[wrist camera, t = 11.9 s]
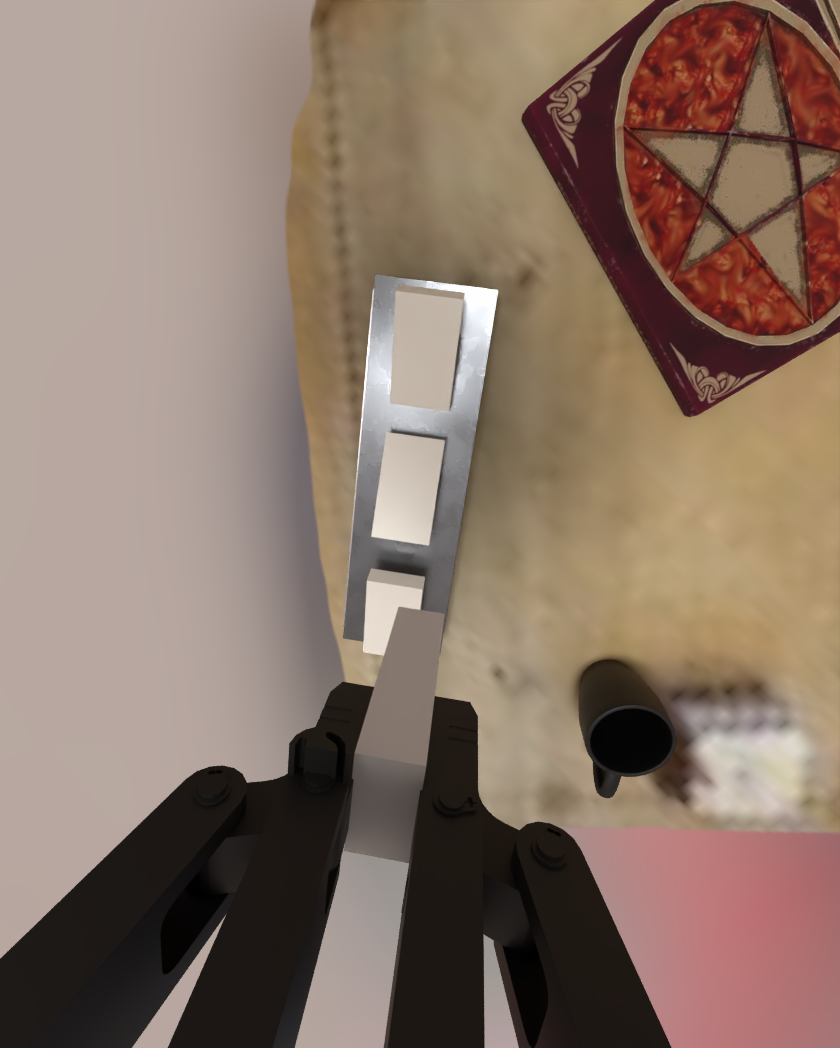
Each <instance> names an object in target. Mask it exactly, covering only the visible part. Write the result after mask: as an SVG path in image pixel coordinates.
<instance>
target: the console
mask: <svg viewBox="0 0 840 1048" xmlns="http://www.w3.org/2000/svg"><path fill="white" fill-rule="evenodd" d="M399 285H408V286H416V287H423V288H431V289H439V290H447V291H455V292H463V293H465V297H464V305H463V313H462V320H461V328H460V334H461V342H460V349H459V356H458V362H457V368H455V374H454V382H453V389H452V397H451V404H450V409H449V412H446V411H439V410H432V409H425V408H417V407H410V406H403V405H396V404H390V391H391V372H392V348H393V333H394V313H395V294H396V290H397V288H398V286H399ZM497 295H498V290H493V289H485V288H477V287H469V286H462V285H454V284H446V283H438V282H430V281H422V280H414V279H406V278H398V277H390V276H383V275H376V276H375V287H374V288H373V294H372V305H371V316H370V328H369V339H368V350H367V362H366V373H365V384H364V396H363V407H362V418H361V429H360V441H359V452H358V463H357V475H356V486H355V497H354V508H353V520H352V531H351V542H350V554H349V565H348V576H347V587H346V599H345V610H344V621H343V627H344V634H343V638H345V639H351V640H357V641H363V642H364V625H365V606H366V588H367V579H368V576H369V573H370V570H371V568H372V569H378V570H385V571H391V572H397V573H404V574H410V575H416V576H423V577H425V582H424V589H423V597H422V600H424V601H423V609H422V610H424V611H430V612H436V613H442V614H444V622H443V631H442V639H443V633H444V627H445V620H446V614H447V608H448V602H449V595H450V589H451V583H452V576H453V570H454V564H455V558H456V551H457V545H458V539H459V533H460V526H461V520H462V514H463V508H464V501H465V495H466V489H467V483H468V476H469V470H470V464H471V458H472V451H473V445H474V439H475V433H476V426H477V420H478V414H479V408H480V401H481V395H482V389H483V383H484V376H485V370H486V364H487V358H488V351H489V345H490V339H491V333H492V326H493V320H494V314H495V307H496V301H497ZM386 432H390V433H397V434H404V435H411V436H418V437H425V438H432V439H439V440H445V446H444V453H443V459H442V466H441V472H440V479H441V482H440V489H439V496H438V502H437V507H436V508H435V512H434V519H433V526H432V532H431V539H430V544H429V546H428V545H422V544H415V543H409V542H402V541H396V540H389V539H383V538H376V537H371V535H372V528H373V521H374V514H375V507H376V500H377V493H378V484H379V478H380V472H381V465H382V458H383V451H384V444H385V437H386ZM442 639H441V645H442ZM440 652H441V647H440Z"/></svg>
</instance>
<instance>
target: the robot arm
mask: <svg viewBox="0 0 840 1048" xmlns="http://www.w3.org/2000/svg"><path fill="white" fill-rule="evenodd" d="M443 622H444V614H442V613H436V612H430V611H424V610H418V609H412V608H405V607H398V610H397V614H396V617H395V620H394V624H393V627H392V630H391V634H390V637H389V640H388V644H387V647H386V650H385V654H384V657H383V660H382V663H381V667H380V670H379V673H378V677H377V680H376V683H375V687H370V686H364V685H358V684H353V683H347V682H342V683H341V684H339V685H338V686H337V687H336V688H335V689H333V690H332V691H331V692H330V694H329V696H328V699H327V701H326V704H325V707H324V708H323V710H322V713H321V715H320V719H319V720H318V722H317V725H316V727H314V728H310V729H306V730H304V731H302V732H301V733H299V734H297V735H296V736H295V737H294V738H293V740H292V741H291V742H290V744H289V761H288V774H286V775H285V776H282V777H280V778H277V779H274V780H269V781H262V782H251V783H247V782H246V780H245V778H244V776H243V774H242V773H240V772H239V771H237V770H236V769H235V768H231V767H227V766H213V767H208V768H205V769H202V770H200V771H197V772H195V773H194V774H193V775H191V776H190V777H188V778H187V779H186V780H185V781H184V782H183V783H182V784H181V785H180V786H179V787H177V788H176V789H175V790H174V791H173V792H172V793H171V794H170V795H169V796H168V797H167V798H166V799H165V800H164V801H163V802H162V803H161V804H160V805H159V806H158V807H157V808H156V809H155V810H154V811H153V812H152V813H151V814H150V815H149V816H148V817H147V818H145V819H144V820H143V821H142V822H141V823H140V824H139V825H138V826H137V827H136V828H135V829H134V830H133V831H132V832H131V833H130V834H129V835H128V836H127V837H126V838H125V839H124V840H123V841H122V842H121V843H120V844H119V845H117V846H116V847H115V848H114V849H113V850H112V851H111V852H110V853H109V854H108V855H107V856H106V857H105V858H104V859H103V860H102V861H101V862H100V863H99V864H98V865H97V866H96V867H95V868H94V869H93V870H92V871H91V872H90V873H89V874H87V876H85V877H84V878H83V879H82V880H81V881H80V882H79V883H78V884H77V885H76V886H75V887H74V888H73V889H72V890H71V891H70V892H69V893H68V894H67V895H66V896H65V897H64V898H63V899H62V900H61V901H60V902H59V903H57V904H56V905H55V906H54V907H53V908H52V909H51V910H50V911H49V912H48V913H47V914H46V915H45V916H44V917H43V918H42V919H41V920H40V921H39V922H38V923H37V924H36V925H35V926H34V927H33V928H32V929H31V930H30V931H29V932H28V933H26V934H25V935H24V936H23V937H22V938H21V939H20V940H19V941H18V942H17V943H16V944H15V945H14V946H13V947H12V948H11V949H10V950H9V951H8V952H7V953H6V954H5V955H4V956H3V957H2V958H1V959H0V1048H132V1047H133V1045H134V1044H135V1043H136V1041H137V1039H138V1038H139V1037H140V1035H141V1034H142V1033H143V1031H144V1030H145V1028H146V1027H147V1026H148V1024H149V1023H150V1021H151V1020H152V1018H153V1017H154V1016H155V1014H156V1013H157V1011H158V1010H159V1009H160V1007H161V1005H162V1004H163V1003H164V1001H165V1000H166V999H167V997H168V996H169V994H170V993H171V991H172V990H173V989H174V987H175V986H176V984H177V983H178V982H179V980H180V979H181V977H182V976H183V975H184V973H185V972H186V970H187V969H188V967H189V966H190V965H191V963H192V962H193V960H194V959H195V957H196V956H197V955H198V953H199V952H200V950H201V949H202V947H203V946H204V945H205V943H206V942H207V941H208V939H209V938H210V936H211V935H212V933H213V932H214V931H215V929H216V928H217V926H218V925H219V924H220V922H221V921H222V919H223V918H224V916H225V915H226V917H225V919H224V921H223V923H222V925H221V928H220V930H219V932H218V935H217V937H216V939H215V941H214V944H213V946H212V948H211V951H210V953H209V955H208V957H207V960H206V962H205V964H204V967H203V969H202V971H201V973H200V976H199V978H198V980H197V982H196V985H195V987H194V989H193V991H192V994H191V996H190V998H189V1001H188V1003H187V1005H186V1007H185V1010H184V1012H183V1014H182V1017H181V1019H180V1021H179V1023H178V1026H177V1028H176V1030H175V1032H174V1035H173V1037H172V1039H171V1042H170V1044H169V1046H168V1048H295V1044H296V1040H297V1036H298V1032H299V1029H300V1025H301V1021H302V1017H303V1013H304V1009H305V1005H306V1001H307V998H308V994H309V990H310V986H311V982H312V978H313V974H314V970H315V966H316V963H317V959H318V955H319V951H320V947H321V943H322V939H323V935H324V932H325V928H326V924H327V920H328V916H329V912H330V908H331V904H332V900H333V897H334V893H335V889H336V885H337V881H338V877H339V870H340V861H341V855H342V852H343V848H344V851H348V852H353V853H358V854H364V855H369V856H374V857H379V858H385V859H390V860H395V861H401V862H407V863H409V869H408V874H407V881H406V887H405V893H404V899H403V906H402V912H401V913H402V916H401V924H400V932H399V939H398V946H397V954H396V961H395V969H394V976H393V983H392V992H391V998H390V1006H389V1014H388V1020H387V1028H386V1036H385V1043H384V1048H484V945H483V934H484V935H486V936H488V937H489V938H491V939H493V940H494V947H495V951H496V956H497V959H498V964H499V968H500V972H501V976H502V980H503V984H504V988H505V992H506V996H507V1001H508V1005H509V1009H510V1013H511V1017H512V1020H513V1025H514V1029H515V1033H516V1037H517V1041H518V1046H519V1048H671V1046H670V1044H669V1041H668V1039H667V1037H666V1035H665V1033H664V1030H663V1028H662V1026H661V1024H660V1021H659V1019H658V1017H657V1015H656V1013H655V1011H654V1009H653V1006H652V1004H651V1002H650V1000H649V998H648V995H647V993H646V991H645V989H644V986H643V984H642V982H641V980H640V978H639V976H638V974H637V971H636V969H635V967H634V965H633V963H632V961H631V958H630V956H629V954H628V952H627V949H626V947H625V945H624V943H623V941H622V938H621V936H620V935H619V932H618V930H617V927H616V925H615V923H614V921H613V919H612V916H611V914H610V912H609V910H608V908H607V906H606V903H605V901H604V899H603V897H602V895H601V892H600V890H599V888H598V886H597V884H596V882H595V879H594V877H593V875H592V873H591V871H590V868H589V866H588V864H587V862H586V860H585V857H584V855H583V853H582V851H581V849H580V848H579V846H578V845H577V843H576V842H575V840H574V839H573V838H572V837H571V836H570V835H569V834H568V833H566V832H565V831H564V830H563V829H561V828H559V827H557V826H554V825H552V824H550V823H543V822H534V823H530V824H527V825H525V826H524V827H523V828H522V829H521V830H517V829H515V828H513V827H511V826H509V825H507V824H505V823H503V822H502V821H500V820H498V819H497V818H495V817H494V816H493V815H492V814H491V813H490V812H488V810H487V809H486V808H485V806H484V805H483V804H482V801H481V799H480V797H479V792H478V716H477V714H476V712H475V710H474V708H473V707H472V705H471V703H470V702H466V701H460V700H454V699H448V698H442V697H436V696H435V689H436V681H437V672H438V664H439V656H440V647H441V639H442V631H443ZM344 844H345V847H344Z"/></svg>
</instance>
